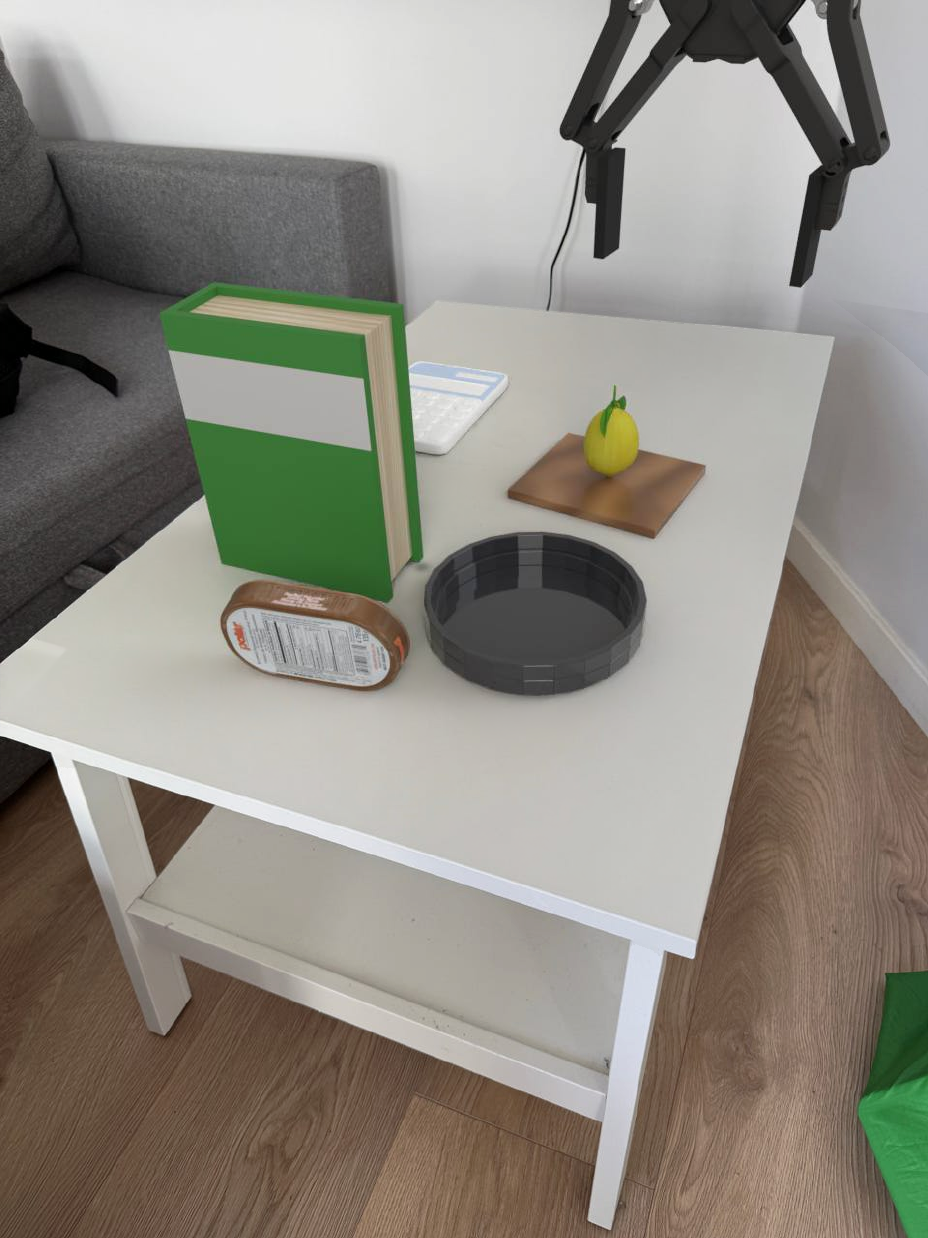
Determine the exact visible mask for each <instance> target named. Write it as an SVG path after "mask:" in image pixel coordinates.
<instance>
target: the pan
mask: <svg viewBox="0 0 928 1238" xmlns="http://www.w3.org/2000/svg"><path fill="white" fill-rule="evenodd" d="M647 601H648V600H647V594H646V590H645V584H644V582H643V580H642V579H641V577H640V575H639V574H638V572H637V571H636V570H635V568H634V567H633V565H632V564H630V563H629V562H628V561H627V560H625V559H624V558H623V557H622V556H620V555H619V554H618V553H616V552H615V551H614V550H611V549H609V548H607V547H606V546H603V545H602V544H600V543H597V542H595V541H592V540H588V539H585V538H582V537H577V536H575V535H571V534H566V533H557V532H550V531H515V532H509V533H503V534H498V535H491V536H488V537H486V538H483V539H480V540H477V541H475V542H471V543H468V544H466V545H464V546H463V547H461V548H459V549H458V550H456V551H454V552H453V553H451V554H449V555H447V556H446V558H444V559H443V561H441V562H440V563H439V564H438V565H437V566H436V567H435V568H434V569H433V570H432V572H431V575H430V576H429V578H428V580H427V582H426V584H425V586H424V594H423V612H424V613H423V615H424V624H425V625H424V627H425V633H426V637H427V638H428V642H429V645H430V648H431V650H432V651H433V652H434V653H435V655H436V656H437V657H438V658H439V660H441V662H442V663H443V664H444V666H445V667H447V668H448V669H450V670H451V671H453V672H454V673H456V674H458V675H459V676H460V677H461V678H463V679H465V680H466V681H469V682H471V683H473V684H477V685H479V686H481V687H484V688H486V689H490V690H492V691H496V692H500V693H504V694H509V695H510V694H511V695H517V696H533V697H535V696H537V697H539V696H553V695H561V694H567V693H572V692H575V691H579V690H582V689H586V688H587V687H590V686H593V685H595V684H598V683H599V682H602V681H604V680H607V679H609V678H611V677H612V676H613V675H615V673H617V672H618V671H620V670H622V668H624V667H625V666H626V665H627V664H629V662H630V661H631V659H632V658H633V657H634V655H635V654H636V652H637V651H638V650H639V648H640V646H641V644H642V638H643V633H644V628H645V621H646V610H647Z"/></svg>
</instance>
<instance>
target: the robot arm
mask: <svg viewBox="0 0 928 1238" xmlns="http://www.w3.org/2000/svg"><path fill="white" fill-rule="evenodd" d="M658 1H659V2H658V3H659V5H660V7H661V9H662V10H663V12H664V13H663V14H664V15H665V17H666V19H667V22H668V23H669V26H668V28H667V29H665V31H664V32H663V33H662V35H661V36H660V38H659V39H658V40H657V41H656V43H655V44H654V46H652V48H651V50H649V54H648V56H647V57H646V58H645V60H644V61H643V62H642V64H641V65H640V66H639V68H638V69H637V70H636V72H635V73H633V75H632V76H631V78H630V79H629V80H628V82H627V83H626V84H625V86H623V87H622V90H621V91H620V92H619V93H618V94H617V96H616V97H615V98H614V100H613V101H612V103H611V104H610V105H609V106H608V107H607V108H606V110H604V112H603V114H602V115H601V116H600V118H598V120H597V121H595V120H596V117H597V116H598V113H599V112H600V109H601V107H602V106H603V105H602V104H603V102H604V100H605V98H606V96H607V94H608V92H609V89H610V88H611V86H612V84H613V81H614V79H615V77H616V75H617V73H618V71H619V68H620V66H621V64H622V62H623V59H624V57H625V55H626V53H627V51H628V49H629V46H630V45H631V42H632V40H633V38H634V36H635V34H636V32H637V30H638V27H639V25H640V23H641V20H642V16H643V15H645V14H647V13H648V12H649V11H651V8H652V7H653V4H654V2H655V0H610V4H609V9H608V10H609V11H608V16H607V18H606V20H605V23H604V25H603V27H602V29H601V32H600V34H599V36H598V39H597V41H596V43H595V45H594V47H593V50H592V52H591V55H590V57H589V59H588V61H587V64H586V66H585V68H584V70H583V73H582V75H581V77H580V80H579V82H578V84H577V86H576V89H575V90H574V93H573V95H572V97H571V100H570V102H569V104H568V107H567V109H566V112H565V114H564V115H563V119H562V121H561V123H560V125H559V135H560V137H561V139H562V140H565V141H572V142H574V143H576V144H578V145H579V146H581V147H582V148H583V150H584V153H585V174H584V175H585V177H584V178H585V180H584V197H585V201H586V204H591V205H595V215H594V216H595V218H594V237H593V259H596V260H597V259H598V260H605V259H606V258H607V257H610V255H612V254H614V253H615V252H616V251H618V250H619V249H620V240H621V237H620V236H621V225H622V210H623V193H624V180H625V165H626V164H625V163H626V151H627V148H626V147H613V145H614V144H616V143H618V138H619V136H621V134H622V133H623V132H624V131H625V130H626V128H627V127H628V126H629V124H630V123H631V122H632V121H633V120H634V118H635V117H636V116H637V115H638V113H639V112H640V111H641V110H642V109H643V107H645V105H646V103H647V102H648V101H649V100H650V99H651V97H652V96H653V95H654V94H655V93H656V91H657V90H658V89H659V87H661V85H662V84H663V82H665V80H666V79H667V78H668V77H669V75H670V74H671V73H672V72H673V70H674V69H675V68H676V67H677V66H678V65H679V64H680V63H681V62H682V61H683V60H684V59H685V58H686V56H687V57H688V58H689V59H691V60H692V63H704V64H705V63H709V62H712V61H715V60H720V61H723V62H726V63H729V64H732V65H734V64H735V65H745V64H747V63H749V62H752V61H754V60H756V59H758V60H759V62H760V63H761V65H762V67H763V68H764V70H765V71H766V73H768V74H769V75H770V76H771V77H772V78H773V81H774V82H775V84H776V86H777V88H778V89H779V91H780V92H781V94H782V96H783V99H784V100H785V101H786V103H787V105H788V107H789V109H790V110H791V112H792V114H793V116H794V117H795V119H796V121H797V123H798V124H799V127H800V128H801V130H802V132H803V133H804V135H805V137H806V139H807V141H808V142H809V144H810V147H812V150H813V151H814V153H815V155H816V156H817V158H818V161H819V162H820V163H821V165H819V166H818V167H816V169H814V170H813V171H812V172H811V173H810V174H809V175H808V179H807V185H806V190H805V196H804V201H803V207H802V212H801V217H800V222H799V229H798V234H797V240H796V246H795V251H794V258H793V262H792V267H791V272H790V278H789V284H788V287H791V288H792V287H793V288H801V289H802V287H803V286H804V285H805V284H806V282H808V281H809V280H810V278H811V277H812V276H813V275H814V270H815V264H816V258H817V254H818V250H819V249H818V248H819V244H820V238H821V233H822V231H830V232H831V231H832V230H833V229H834V228H835V227H836V226H837V224H838V223H839V221H840V219H841V218H842V215H843V211H844V206H845V200H846V196H847V192H848V187H849V182H850V177H851V173H852V171H853V170H855V169H858V168H861V167H866V166H867V167H868V166H873V165H875V164H876V163H878V162H879V161H880V160H881V159H882V158H883V157H884V156H885V155H886V154H887V153H888V151H889V150H890V148H891V140H890V139H891V138H890V135H889V132H888V127H887V122H886V118H885V113H884V110H883V105H882V101H881V97H880V93H879V88H878V85H877V81H876V76H875V72H874V68H873V63H872V59H871V56H870V51H869V47H868V42H867V39H866V35H865V30H864V27H863V21H862V18H861V7H862V0H810V1H811V2H812V4H813V5H814V10H815V14H816V15H817V17H819V19H821V20H826V31H827V36H828V41H829V45H830V50H831V54H832V57H833V62H834V65H835V69H836V74H837V78H838V81H839V85H840V89H841V93H842V98H843V100H844V101H843V102H844V105H845V109H846V113H847V117H848V122H849V126H850V128H851V132H852V133H851V134H852V137H853V141H854V142H852V141H851V140H850V138H849V136H848V134H847V132H846V130H845V128H844V127H843V125H842V123H841V121H840V120H839V118H838V116H837V114H836V112H835V111H834V109H833V107H832V105H831V103H830V101H829V100H828V98H827V96H826V95H825V92H824V91H823V89H822V87H821V85H820V84H819V82H818V80H817V78H816V76H815V75H814V73H813V70H812V69H811V67H810V66H809V63H808V62H807V61H806V59H805V56H804V55H803V48H802V46H801V44H800V42H799V40H798V38H797V37H796V34H795V33H794V32H793V29H792V28H791V26H790V24H789V23H790V22H791V21H792V20H793V18H794V17H795V16H796V15H797V14H798V12H799V11H800V9H801V8H802V7H803V6H804V5H805V3H806V1H807V0H658Z"/></svg>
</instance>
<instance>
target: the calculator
mask: <svg viewBox="0 0 928 1238" xmlns="http://www.w3.org/2000/svg"><path fill="white" fill-rule="evenodd" d="M408 370H409V382H410V395H411V407H412V420H413V433H414V445H415V452H419V453H425V454H429V455H430V454H431V455H435V456H437V455H438V456H440V455H445V454H447V453H448V452H450V451H451V450H452V448H453V447H455V445H456V444H457V443H458V442H459V441H460V440H461V439H463V437H464V436H465V435H466V433H468V431H469V430H470V429H471V428H472V427H473V426H474V425H475V424H476V423H477V422H478V420H479V419H480V418H481V417H482V416H483V415H484V414H485V413H486V412H487V411H488V409H489V408H490V407H491V406H492V405H493V404H494V403H495V402H496V401H497V400H498V399H499V398H500V397H501V396H502V394H503V393H504V392H505V391H506V389H507V388H508V385H509V376H508V375H507V374H505V373H503V372H499V371H492V370H486V369H479V368H471V367H465V366H459V365H452V364H445V363H438V362H433V361H432V362H431V361H423V360H422V361H421V360H420V361H416V362H413V363H412V364H411V365H408Z"/></svg>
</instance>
